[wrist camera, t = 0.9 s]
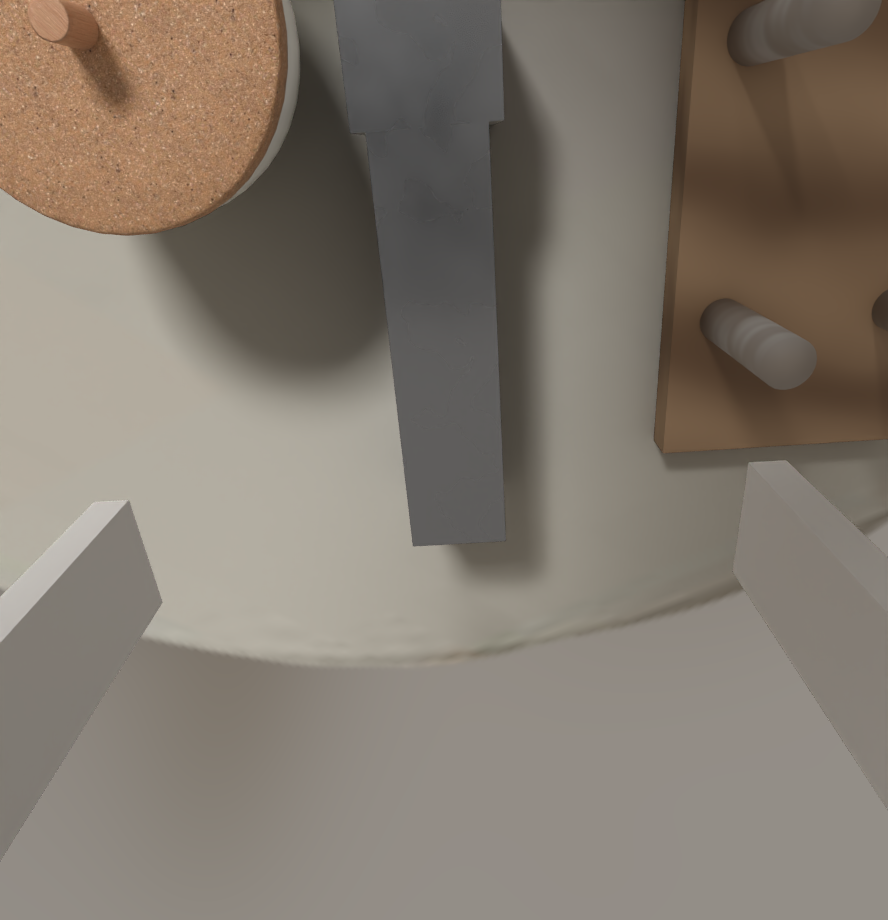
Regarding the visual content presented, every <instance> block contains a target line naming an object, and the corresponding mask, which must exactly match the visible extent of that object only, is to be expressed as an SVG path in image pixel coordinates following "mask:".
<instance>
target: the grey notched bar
mask: <svg viewBox="0 0 888 920" xmlns="http://www.w3.org/2000/svg"><path fill="white" fill-rule="evenodd" d="M334 8H335V17H336V25H337V33H338V41H339V49H340V57H341V65H342V73H343V81H344V89H345V97H346V105H347V113H348V121H349V129H350V133H351V134H362V135H366V142H367V151H368V160H369V168H370V177H371V186H372V195H373V203H374V212H375V221H376V229H377V238H378V247H379V255H380V264H381V273H382V282H383V290H384V299H385V308H386V316H387V325H388V334H389V342H390V351H391V360H392V368H393V377H394V386H395V395H396V403H397V412H398V421H399V429H400V438H401V447H402V455H403V464H404V473H405V481H406V490H407V499H408V508H409V516H410V525H411V534H412V542H413V546H428V545H445V544H462V543H480V542H497V541H506V533H505V508H504V483H503V459H502V434H501V410H500V385H499V361H498V336H497V311H496V287H495V262H494V238H493V213H492V188H491V164H490V139H489V125H491V124H497V123H499V122H501V121H504V93H503V61H502V29H501V0H334Z"/></svg>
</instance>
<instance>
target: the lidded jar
mask: <svg viewBox="0 0 888 920" xmlns="http://www.w3.org/2000/svg"><path fill="white" fill-rule="evenodd" d="M299 81H300V46H299V39H298V32H297V26H296V19H295V15H294V11H293V8H292V4H291V1H290V0H0V188H1V189H2V190H4V191H5V192H7V193H8V194H9V195H11V196H12V197H13V198H15V199H16V200H18V201H19V202H21V203H23V204H25V205H26V206H28V207H30V208H32V209H34V210H35V211H37V212H39V213H41V214H42V215H44V216H47V217H49V218H52V219H54V220H57V221H59V222H62V223H64V224H67V225H69V226H72V227H76V228H80V229H84V230H88V231H92V232H97V233H102V234H114V235H126V236H129V235H141V234H153V233H158V232H161V231H165V230H169V229H173V228H176V227H180V226H184V225H186V224H189V223H191V222H193V221H195V220H197V219H199V218H201V217H203V216H205V215H208V214H210V213H211V212H213V211H214V210H215V209H217V208H219V207H221V206H223V205H225V204H227V203H229V202H230V201H232V200H233V199H234V198H236V197H237V196H238V195H240V194H241V193H243V192H244V191H245V190H247V189H248V188H249V187H250V186H251V185H252V184H253V183H254V182H255V181H256V180H257V179H258V178H259V177H260V176H261V175H262V174H263V173H264V171H265V170H266V169H267V168H268V167H269V165H270V164H271V162H272V161H273V159H274V158H275V156H276V155H277V153H278V152H279V150H280V148H281V146H282V144H283V142H284V140H285V137H286V135H287V133H288V131H289V128H290V126H291V122H292V118H293V115H294V111H295V107H296V104H297V97H298V89H299Z"/></svg>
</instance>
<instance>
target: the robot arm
mask: <svg viewBox="0 0 888 920" xmlns="http://www.w3.org/2000/svg"><path fill="white" fill-rule="evenodd" d="M732 572H733V573H734V575H735V576H736V578H737V580H738V581H739V583H740V584H741V586H742V587H743V589H744V590H745V592H746V593H747V595H748V596H749V598H750V599H751V601H752V603H753V604H754V606H755V607H756V609H757V610H758V612H759V613H760V615H761V616H762V618H763V619H764V621H765V623H766V624H767V626H768V627H769V629H770V630H771V632H772V633H773V635H774V636H775V638H776V639H777V641H778V642H779V644H780V645H781V647H782V649H783V650H784V652H785V653H786V655H787V656H788V658H789V659H790V661H791V662H792V664H793V665H794V667H795V669H796V670H797V671H798V673H799V675H800V676H801V678H802V679H803V681H804V682H805V684H806V685H807V687H808V689H809V690H810V691H811V693H812V695H813V696H814V698H815V699H816V701H817V702H818V704H819V705H820V707H821V708H822V710H823V712H824V713H825V715H826V716H827V718H828V719H829V721H830V722H831V724H832V725H833V727H834V728H835V730H836V731H837V733H838V735H839V736H840V737H841V739H842V741H843V742H844V744H845V745H846V747H847V748H848V750H849V751H850V753H851V754H852V756H853V757H854V759H855V761H856V762H857V764H858V765H859V767H860V768H861V770H862V771H863V773H864V774H865V776H866V778H867V779H868V780H869V782H870V784H871V785H872V787H873V788H874V790H875V791H876V793H877V794H878V796H879V797H880V799H881V800H882V802H883V803H884V805H885V807H886V808H887V810H888V557H887V556H886V555H885V554H884V553H883V552H882V551H881V550H880V549H879V548H878V547H877V546H876V545H875V544H874V543H872V542H871V541H870V540H869V539H868V538H867V537H866V536H865V535H864V534H863V533H862V532H861V531H860V530H859V529H858V528H857V527H856V526H855V525H854V524H853V523H852V522H850V521H849V520H848V519H847V518H846V517H845V516H844V515H843V514H842V513H841V512H840V511H839V510H838V509H837V508H836V507H835V506H834V505H833V504H832V503H831V502H830V501H828V500H827V499H826V498H825V497H824V496H823V495H822V494H821V493H820V492H819V491H818V490H817V489H816V488H815V487H814V486H813V485H812V484H811V483H810V482H809V481H808V480H806V479H805V478H804V477H803V476H802V475H801V474H800V473H799V472H798V471H797V470H796V469H795V468H794V467H793V466H792V465H791V464H790V463H789V462H788V461H787V460H780V461H763V462H748V469H747V476H746V482H745V489H744V496H743V503H742V510H741V516H740V523H739V530H738V537H737V544H736V551H735V557H734V564H733V571H732ZM161 604H162V599H161V596H160V593H159V590H158V587H157V584H156V581H155V578H154V575H153V572H152V569H151V566H150V563H149V559H148V556H147V553H146V550H145V547H144V544H143V541H142V538H141V535H140V532H139V529H138V526H137V523H136V520H135V517H134V514H133V511H132V508H131V505H130V502H129V500H118V501H102V502H94V503H93V504H92V505H91V506H90V507H89V508H88V509H87V510H86V511H85V512H84V513H83V514H82V515H81V516H80V517H79V518H78V519H77V520H76V521H75V522H74V523H73V524H72V525H71V526H70V527H69V528H68V529H67V530H66V531H65V532H64V533H63V534H62V535H61V536H60V537H59V538H58V539H57V540H56V541H55V542H54V543H53V544H52V545H51V546H50V547H49V548H48V549H47V550H46V551H45V552H44V553H43V554H42V555H41V556H40V557H39V558H38V559H37V560H36V561H35V562H34V563H33V564H32V565H31V566H30V567H29V568H28V569H27V570H26V571H25V572H24V573H23V574H22V575H21V576H20V577H19V578H18V579H17V580H16V581H15V582H14V583H13V584H12V586H11V587H10V588H9V589H8V590H7V591H6V592H5V593H4V594H3V595H2V596H1V597H0V861H1V859H2V858H3V856H4V855H5V853H6V851H7V850H8V848H9V846H10V845H11V843H12V842H13V840H14V839H15V837H16V835H17V834H18V832H19V831H20V829H21V827H22V826H23V824H24V822H25V821H26V819H27V818H28V816H29V814H30V813H31V811H32V810H33V808H34V807H35V805H36V803H37V802H38V800H39V799H40V797H41V795H42V794H43V792H44V791H45V789H46V787H47V786H48V784H49V782H50V781H51V780H52V778H53V776H54V775H55V773H56V772H57V770H58V768H59V766H60V765H61V764H62V762H63V760H64V759H65V757H66V756H67V754H68V752H69V751H70V749H71V748H72V746H73V744H74V743H75V741H76V740H77V738H78V736H79V735H80V733H81V732H82V730H83V728H84V727H85V725H86V724H87V722H88V720H89V719H90V717H91V715H92V714H93V713H94V711H95V709H96V708H97V706H98V704H99V703H100V701H101V700H102V698H103V697H104V695H105V693H106V692H107V690H108V689H109V687H110V685H111V684H112V682H113V681H114V679H115V677H116V675H117V674H118V673H119V671H120V669H121V668H122V666H123V665H124V663H125V661H126V660H127V658H128V657H129V655H130V653H131V652H132V650H133V649H134V647H135V645H136V644H137V642H138V641H139V639H140V637H141V636H142V634H143V633H144V631H145V630H146V628H147V626H148V625H149V623H150V622H151V620H152V618H153V617H154V615H155V614H156V612H157V610H158V609H159V607H160V606H161Z"/></svg>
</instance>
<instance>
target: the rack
mask: <svg viewBox="0 0 888 920" xmlns="http://www.w3.org/2000/svg"><path fill="white" fill-rule="evenodd" d="M880 439H888V0H685V8H684V22H683V36H682V50H681V64H680V78H679V92H678V106H677V120H676V135H675V149H674V163H673V177H672V191H671V205H670V219H669V233H668V247H667V261H666V276H665V290H664V304H663V318H662V332H661V346H660V360H659V374H658V388H657V402H656V417H655V431H654V441H655V442H656V444H657V445H658V447H659V448H660V450H661V451H662V453H675V452H691V451H707V450H722V449H738V448H754V447H770V446H786V445H801V444H817V443H833V442H849V441H865V440H880Z"/></svg>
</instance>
